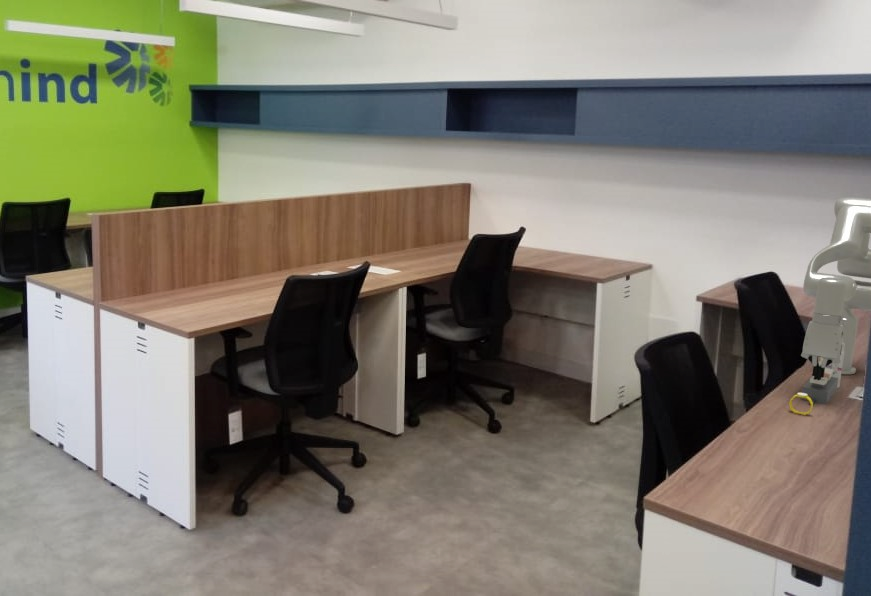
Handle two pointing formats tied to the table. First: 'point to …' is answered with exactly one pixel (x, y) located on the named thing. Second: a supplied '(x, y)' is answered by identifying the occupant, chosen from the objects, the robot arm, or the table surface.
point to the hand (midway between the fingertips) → (817, 378)
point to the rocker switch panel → (820, 391)
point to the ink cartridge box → (836, 366)
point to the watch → (802, 397)
